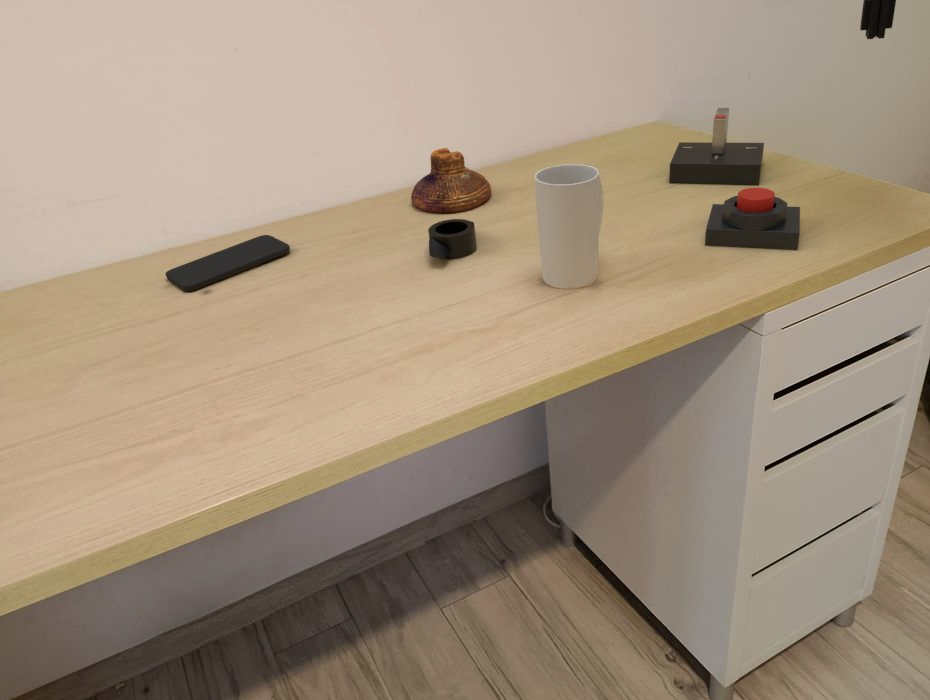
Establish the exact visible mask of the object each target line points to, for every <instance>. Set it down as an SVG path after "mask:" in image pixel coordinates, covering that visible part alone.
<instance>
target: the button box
mask: <svg viewBox="0 0 930 700" xmlns="http://www.w3.org/2000/svg"><path fill="white" fill-rule="evenodd" d="M737 197H738V195H734V196H731V197H730V198H727V199H725V200H724V201H723V204H722V203H712V206H711V209H710V213H709V215H708V216H709V217H708V220H707V224H706V228H705V240H704V247H719V248H720V247H723V248H741V249H742V248H743V249H758V250H759V249H760V250H761V249H762V250H764V249H765V250H779V251H780V250H781V251H798V248H799V242H800V234H801V206H788V202H786V201H785V200H784V199H782V198H780V197H778V196H775V198H774V206H773V209H772V210H770V211H764V212H747V211H743V210H739V209H738V208H737Z"/></svg>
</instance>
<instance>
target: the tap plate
mask: <svg viewBox="0 0 930 700" xmlns="http://www.w3.org/2000/svg"><path fill="white" fill-rule="evenodd" d="M764 148H765V142H726V146H725V149H724V153H723V155H716V154H711V152H712V142H702V141H701V142H696V141H695V142H693V141H692V142H691V141H690V142H688V141H687V142H684V141H683V142H680V141H679V142H678V145H677V146H676V149H675V151H674V154H673V156H672V158H671V161H670V162H669V177H668V178H669V179H668V183H669V184H672V185H673V184H675V185H677V184H678V185H712V186H713V185H714V186H715V185H716V186H717V185H718V186H757V187H758V186H760V182H761V181H760V180H761V173H762V168H763V167H762V165H763V158H764V150H765V149H764Z"/></svg>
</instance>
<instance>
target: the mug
mask: <svg viewBox="0 0 930 700" xmlns="http://www.w3.org/2000/svg"><path fill="white" fill-rule="evenodd" d="M534 189H535V190H534V191H535V203H536V204H535V205H536V216H537V228H538V229H537V230H538V231H537V232H538V241H539V243H538V244H539V257H540V267H541V277H542V281H543V283H545V284H546V285H547V286H549V287H552V288H555V289H561V290H575V289H581V288H585V287H588V286H590V285H592V284H593V283H594V282H595V281H596V280H598V277H599V275H598V273H599V253H600V252H599V245H600V244H599V240H600V239H599V237H600V234H601V226H602V220H603V213H604V189H603V185H602V181H601V178H600V170H599V169H598V168H596V167H594V166H591V165H589V164H581V163H565V164H557V165H552V166H548V167H545V168H541V169H540V170H539V171H537V172H536V173H535V174H534Z"/></svg>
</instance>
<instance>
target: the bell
mask: <svg viewBox="0 0 930 700" xmlns="http://www.w3.org/2000/svg"><path fill="white" fill-rule="evenodd" d="M465 165H466V163H465V157H464V154H462V153H461V151H459V150H455V151H452V152H451V151H450V149H449V148H447V147H443V148H438V149H435V150H433V151H432V152H431V154H430V172H429V173H428V174H426V175H425V176H423V177H422V178H420V180H418V181H417V183H416V184H415V185H414V187H413V189H412V192H411V194H410V201H411V203H412V205H413V206H414V207H415V208H417V209H419V210H421V211H425V212H430V213H440V214H445V213H446V214H447V213H455V212H462V211H467V210H470V209H473V208H476V207H478V206H479V205H481V204H483V203H485V202H486V201H487V200H489V199H490V197H491V195H492V187H491V183H490V182H489V181H488V179H486V177H485V176H484V175H482V174H481V173H479V172H477V171H475V170H472V169H469V168H468V167H466V166H465Z"/></svg>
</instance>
